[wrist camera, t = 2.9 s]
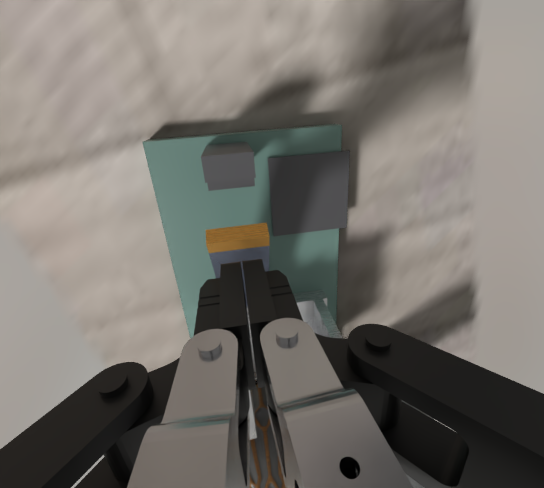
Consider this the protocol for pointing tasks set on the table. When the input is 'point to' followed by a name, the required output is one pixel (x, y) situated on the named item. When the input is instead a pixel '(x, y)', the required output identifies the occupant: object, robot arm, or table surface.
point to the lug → (228, 166)
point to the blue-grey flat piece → (238, 246)
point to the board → (256, 205)
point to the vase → (264, 447)
